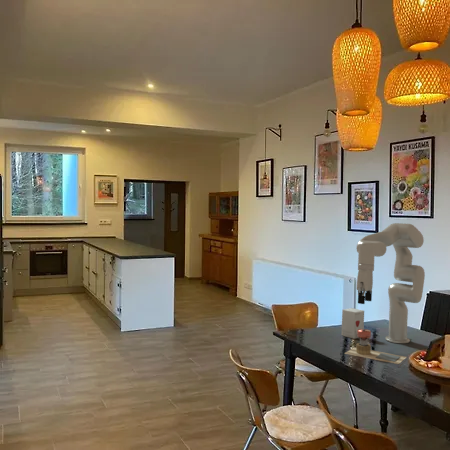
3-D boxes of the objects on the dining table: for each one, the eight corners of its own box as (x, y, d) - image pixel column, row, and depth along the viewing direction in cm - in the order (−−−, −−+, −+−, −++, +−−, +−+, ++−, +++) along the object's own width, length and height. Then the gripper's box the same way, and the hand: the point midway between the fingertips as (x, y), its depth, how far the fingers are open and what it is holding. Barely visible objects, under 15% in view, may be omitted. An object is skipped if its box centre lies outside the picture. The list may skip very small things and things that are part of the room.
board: (354, 350, 251) (354, 339, 251) (407, 360, 236) (407, 348, 236) (344, 356, 240) (344, 345, 240) (398, 367, 225) (399, 355, 225)
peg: (359, 350, 246) (360, 327, 246) (371, 352, 242) (372, 329, 242) (354, 353, 241) (355, 329, 240) (367, 355, 237) (368, 332, 237)
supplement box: (354, 339, 273) (355, 312, 272) (340, 335, 280) (341, 309, 279) (364, 336, 278) (364, 310, 278) (350, 333, 285) (351, 307, 285)
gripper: (364, 265, 250) (363, 298, 250) (351, 268, 235) (350, 303, 236) (379, 266, 245) (378, 300, 246) (367, 269, 231) (366, 305, 232)
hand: (364, 302), depth 241 cm, fingers open, 9 cm apart
